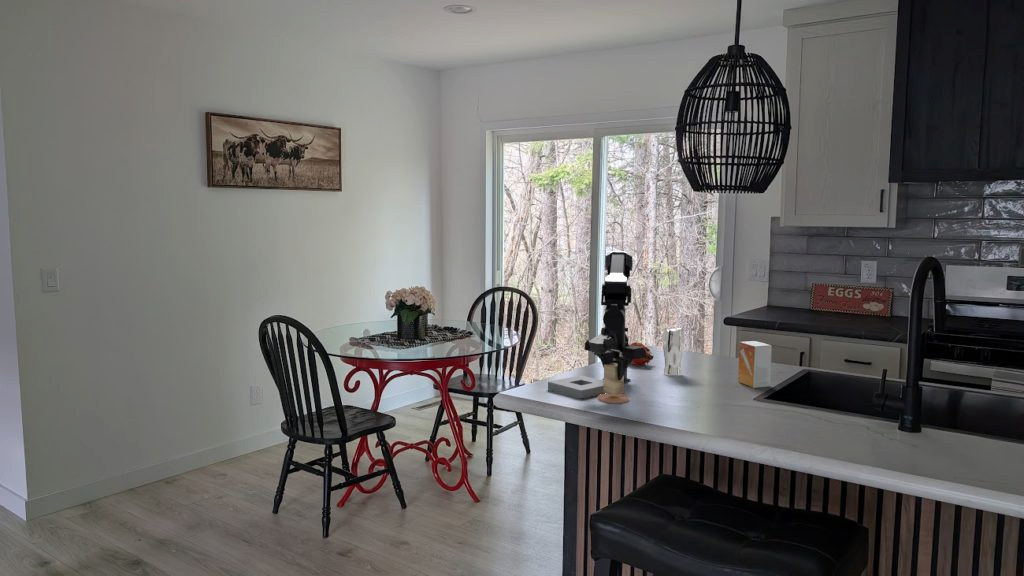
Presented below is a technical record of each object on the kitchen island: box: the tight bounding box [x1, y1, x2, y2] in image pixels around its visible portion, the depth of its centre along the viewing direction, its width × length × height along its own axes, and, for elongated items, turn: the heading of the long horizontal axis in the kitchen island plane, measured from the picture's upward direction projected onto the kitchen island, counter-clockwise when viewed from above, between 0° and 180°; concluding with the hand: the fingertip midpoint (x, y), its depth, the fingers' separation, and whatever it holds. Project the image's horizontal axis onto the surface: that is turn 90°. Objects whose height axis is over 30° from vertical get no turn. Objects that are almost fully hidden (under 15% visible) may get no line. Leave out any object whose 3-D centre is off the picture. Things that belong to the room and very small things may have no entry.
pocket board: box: [547, 375, 605, 400], centre depth 218 cm, size 14×14×2 cm
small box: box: [737, 340, 773, 389], centre depth 227 cm, size 8×6×13 cm
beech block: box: [603, 363, 625, 395], centre depth 207 cm, size 4×4×8 cm
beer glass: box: [662, 327, 686, 377], centre depth 240 cm, size 7×7×15 cm
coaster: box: [597, 393, 630, 404], centre depth 208 cm, size 9×9×1 cm
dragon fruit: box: [630, 341, 654, 367], centre depth 256 cm, size 8×8×12 cm
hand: (613, 378), depth 207 cm, fingers closed on beech block, 4 cm apart
